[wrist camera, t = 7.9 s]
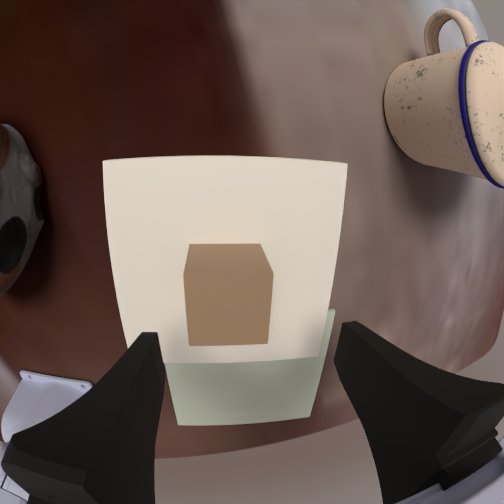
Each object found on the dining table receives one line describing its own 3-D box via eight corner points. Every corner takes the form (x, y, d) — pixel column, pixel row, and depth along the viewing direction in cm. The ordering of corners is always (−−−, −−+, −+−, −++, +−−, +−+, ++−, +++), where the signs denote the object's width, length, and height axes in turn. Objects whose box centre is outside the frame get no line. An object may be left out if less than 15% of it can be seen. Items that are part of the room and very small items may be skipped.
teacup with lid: (465, 160, 20) (570, 190, 9) (389, 175, 20) (513, 218, 9) (440, 32, 16) (541, 11, 5) (355, 23, 15) (461, -37, 5)
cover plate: (133, 353, 17) (120, 401, 13) (108, 159, 13) (71, 168, 9) (314, 348, 19) (335, 393, 15) (341, 162, 15) (383, 172, 11)
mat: (178, 422, 27) (178, 425, 26) (157, 314, 22) (156, 317, 21) (308, 414, 28) (309, 416, 28) (333, 308, 23) (335, 310, 23)
